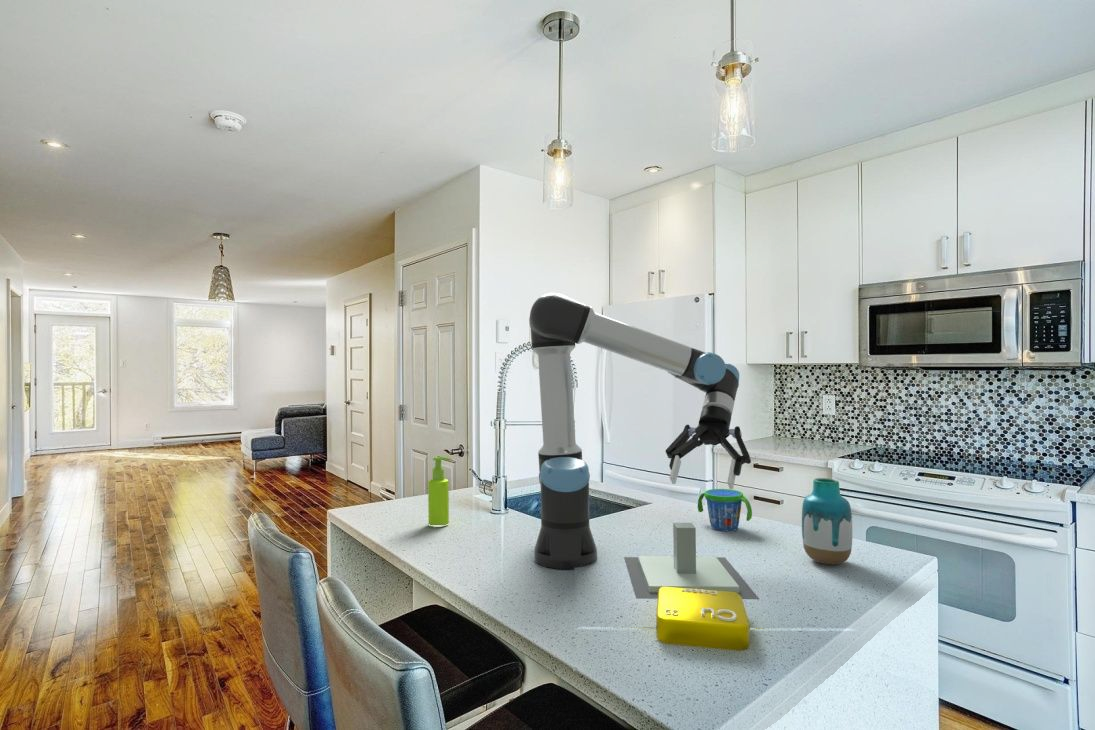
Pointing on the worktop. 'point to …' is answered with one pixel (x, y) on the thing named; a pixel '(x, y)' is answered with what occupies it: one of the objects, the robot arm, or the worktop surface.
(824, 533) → the vase
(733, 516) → the snack cup
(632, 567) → the rubber mat
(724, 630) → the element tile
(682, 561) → the sage lid
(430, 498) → the soap dispenser
